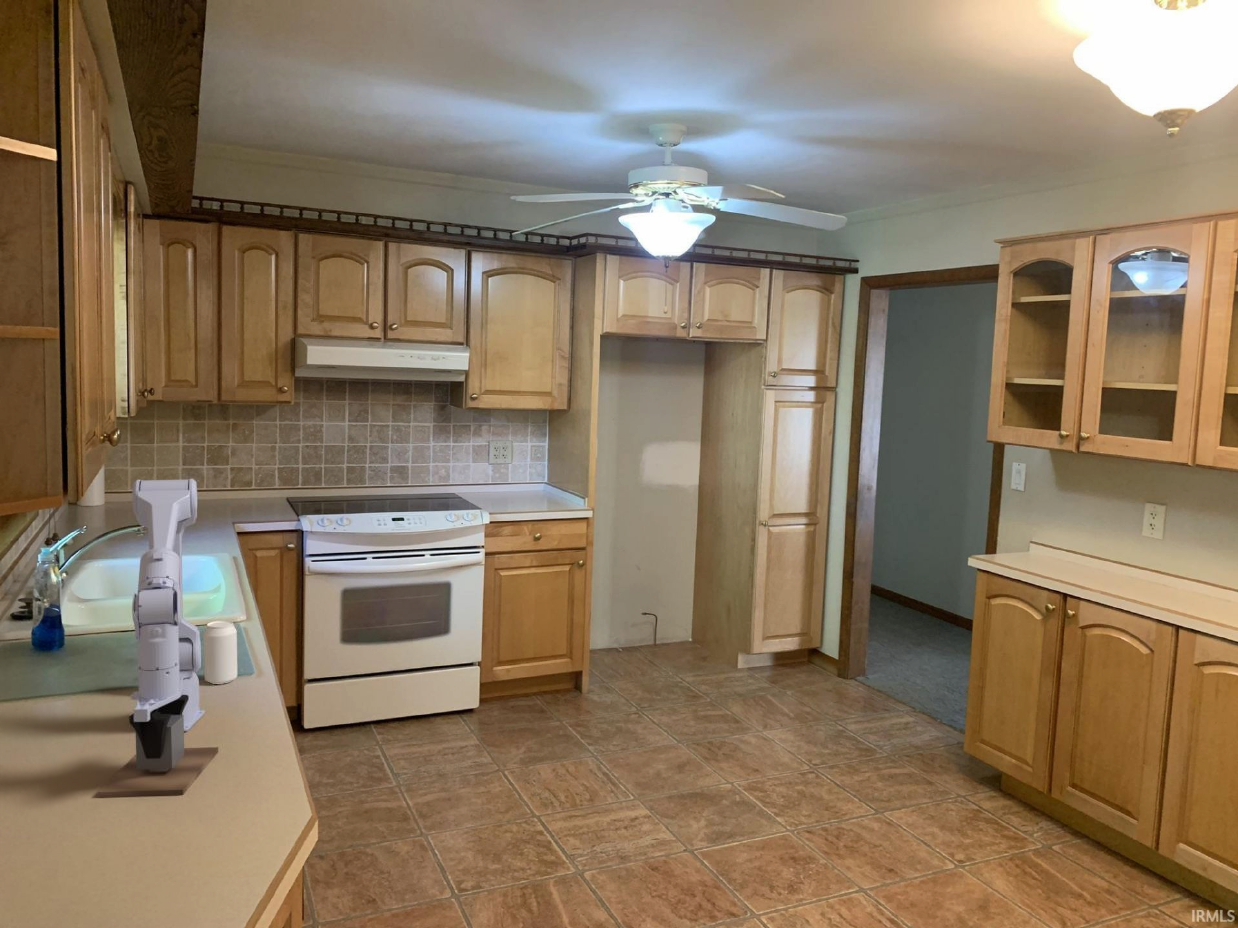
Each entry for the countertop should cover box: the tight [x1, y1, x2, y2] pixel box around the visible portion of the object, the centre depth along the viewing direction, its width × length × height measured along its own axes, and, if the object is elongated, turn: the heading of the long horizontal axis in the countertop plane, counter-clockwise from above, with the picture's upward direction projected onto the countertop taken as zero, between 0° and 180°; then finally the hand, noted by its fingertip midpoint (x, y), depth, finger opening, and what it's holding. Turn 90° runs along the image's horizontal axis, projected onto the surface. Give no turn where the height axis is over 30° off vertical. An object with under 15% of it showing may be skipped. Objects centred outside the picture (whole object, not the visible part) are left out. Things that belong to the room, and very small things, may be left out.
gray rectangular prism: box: [135, 715, 185, 770], centre depth 143 cm, size 5×5×7 cm
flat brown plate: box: [97, 746, 219, 798], centre depth 143 cm, size 16×12×6 cm
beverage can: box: [203, 620, 238, 683], centre depth 187 cm, size 6×6×12 cm
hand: (161, 750), depth 143 cm, fingers closed on gray rectangular prism, 5 cm apart
